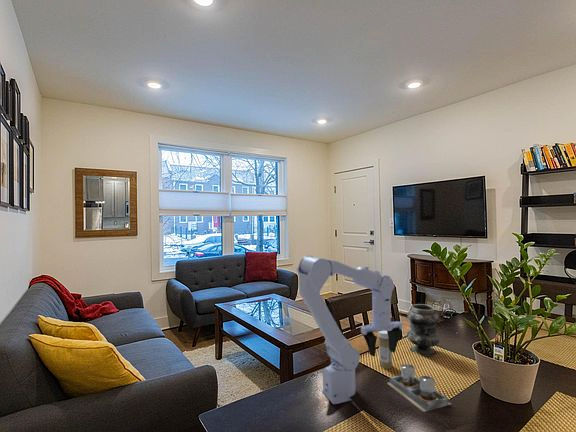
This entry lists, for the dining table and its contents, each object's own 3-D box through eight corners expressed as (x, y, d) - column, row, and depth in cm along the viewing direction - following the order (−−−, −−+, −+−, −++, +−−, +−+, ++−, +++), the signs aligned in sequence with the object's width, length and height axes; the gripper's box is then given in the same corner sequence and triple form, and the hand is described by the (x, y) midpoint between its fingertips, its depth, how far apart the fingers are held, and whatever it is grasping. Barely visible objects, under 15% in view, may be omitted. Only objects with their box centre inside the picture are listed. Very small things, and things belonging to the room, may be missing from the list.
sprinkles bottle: (395, 369, 112) (394, 331, 112) (386, 373, 110) (386, 334, 110) (384, 365, 116) (384, 328, 116) (376, 368, 113) (375, 330, 113)
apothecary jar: (442, 359, 119) (441, 312, 119) (408, 356, 123) (407, 309, 123) (437, 347, 131) (436, 303, 131) (406, 344, 134) (405, 301, 135)
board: (423, 416, 86) (423, 405, 86) (386, 386, 101) (386, 377, 101) (452, 408, 89) (451, 398, 89) (412, 381, 104) (412, 372, 104)
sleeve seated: (407, 391, 96) (406, 371, 96) (397, 384, 100) (396, 365, 100) (419, 388, 97) (419, 368, 97) (409, 381, 102) (408, 362, 102)
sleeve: (427, 406, 88) (426, 384, 88) (415, 397, 93) (414, 376, 93) (440, 402, 90) (439, 381, 90) (428, 394, 94) (427, 374, 94)
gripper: (369, 317, 97) (370, 361, 97) (408, 312, 102) (409, 354, 101) (357, 311, 104) (357, 352, 103) (394, 306, 108) (394, 346, 108)
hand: (382, 353), depth 103 cm, fingers open, 7 cm apart
